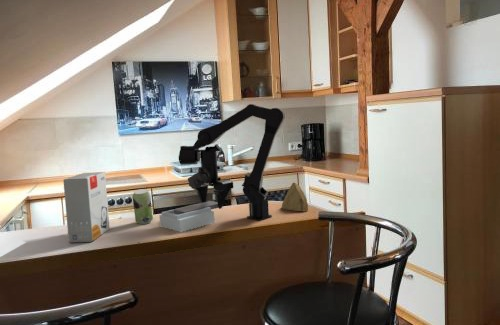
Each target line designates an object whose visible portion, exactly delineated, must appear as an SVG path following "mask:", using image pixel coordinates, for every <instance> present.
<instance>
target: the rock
mask: <svg viewBox="0 0 500 325" xmlns="http://www.w3.org/2000/svg"><path fill="white" fill-rule="evenodd" d="M307 201H308V200H307V197H306V195H305V192H304V190H302V188H301V187H300V184H298V183H296V182H292V183H291V185H290V187H289V188H288V191H287V192H286V195H285V197H284V199H283V201H282V203H281V208H280V209H283V210H287V211H295V212H297V211H298V212H308V211H309V206H308V205H309V204H308V202H307Z"/></svg>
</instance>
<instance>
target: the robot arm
mask: <svg viewBox="0 0 500 325" xmlns="http://www.w3.org/2000/svg"><path fill="white" fill-rule="evenodd" d="M252 117H255V118H259V119H261V120H265V123H264V134H263V137H262V140H261V143H260V146H259V150H258V153H257V156H256V157H255V162H254V164H253V167H252V170H251V172H247V173H246V174H245V175H244V179H243V183H242V184H241V187H242V192H243V194H244V196H246V197H247V199H248V201H249V202H248V203H249V204H248V206H249V207H248V208H249V215H247V216H246V218H247V219H252V220H255V221H262V220H265V219H268V218H271V217H273V215H272V214H270V212H269V210H270V209H269V200H268V199H267V197H268V195H269V192H268V191H267V189H265V188H264V187H263V183H264V182H263V180H264V171H265V169H266V165H267V163H268V159H269V156H270V153H271V151H272V147H273V144H274V140H275V138H276V136H277V134H278V132H279V130H280V128H281V127H282V125H283V123H284V121H285V118H286V114H285V112H284V110H283V109H281V108H280V107H272V108H267V107H263V106H259V105H257V104H252V103H250V104H247V105H246V106H245V107H244V108H241V110H239V111H237V112H236V113H234V114H233V115H230V116H229V117H227V118H225V119H224V120H223V121H220V122H219V123H217V124H213V125H210V126H208V127H206V128H203V129H201V130H199V132H198V133H197V138H196V140H195V142H194V144H193V145H181V146H180V148H179V149H180V150H179V153H178V161H179V164H180V165H181V166H185V165H186V166H188V165H198V163H199V162H200V167H198V169H197V170H198V172H196V173H194V174H193V175H191V176H190V177H188V178H187V182H188V186H189V187H190V188H191V189H193V190H194V191H195V192H196V194H197V196H198V198H199V200H200V203H203V202H207V198H208V192H209V190H208V189H209V187H213V192H214V193H215V195H216V199H217V200H216V202H218V207H219V208H218V209H219V210H220V209H223V206H224V204H225V201H226V198H227V196H228V195H229V193H230V191H232V189H234V182H233V180H229V179H222V178H221V177H219V173H218V170H220V169H221V168H220V167H221V166H219V165H218V156H217V152H220V151H222V150H223V148H222V147H221V146H219V144H218V143H216V142H217V141H218V140H219V139H220V138H221V137H223V135H224V134H226V133H227V132H229V131H230V130H231V129H233V128H235V127H236V126H238V125H240V124H242V123H243V122H245V121H247V120H248V119H250V118H252ZM215 143H216V144H215ZM212 144H214V146H213V145H212ZM210 145H212V146H210ZM204 147H205V148H204ZM202 148H204V149H202Z"/></svg>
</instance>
